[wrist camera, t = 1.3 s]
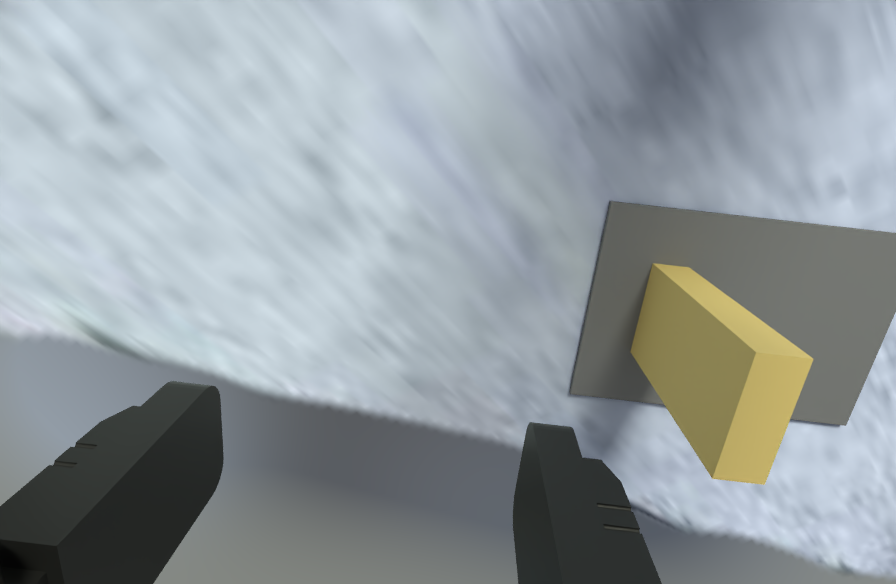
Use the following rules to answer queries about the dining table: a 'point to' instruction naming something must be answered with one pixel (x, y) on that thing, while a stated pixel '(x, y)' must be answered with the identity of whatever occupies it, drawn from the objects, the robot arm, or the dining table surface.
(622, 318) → the mat
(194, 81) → the dining table surface
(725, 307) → the box
